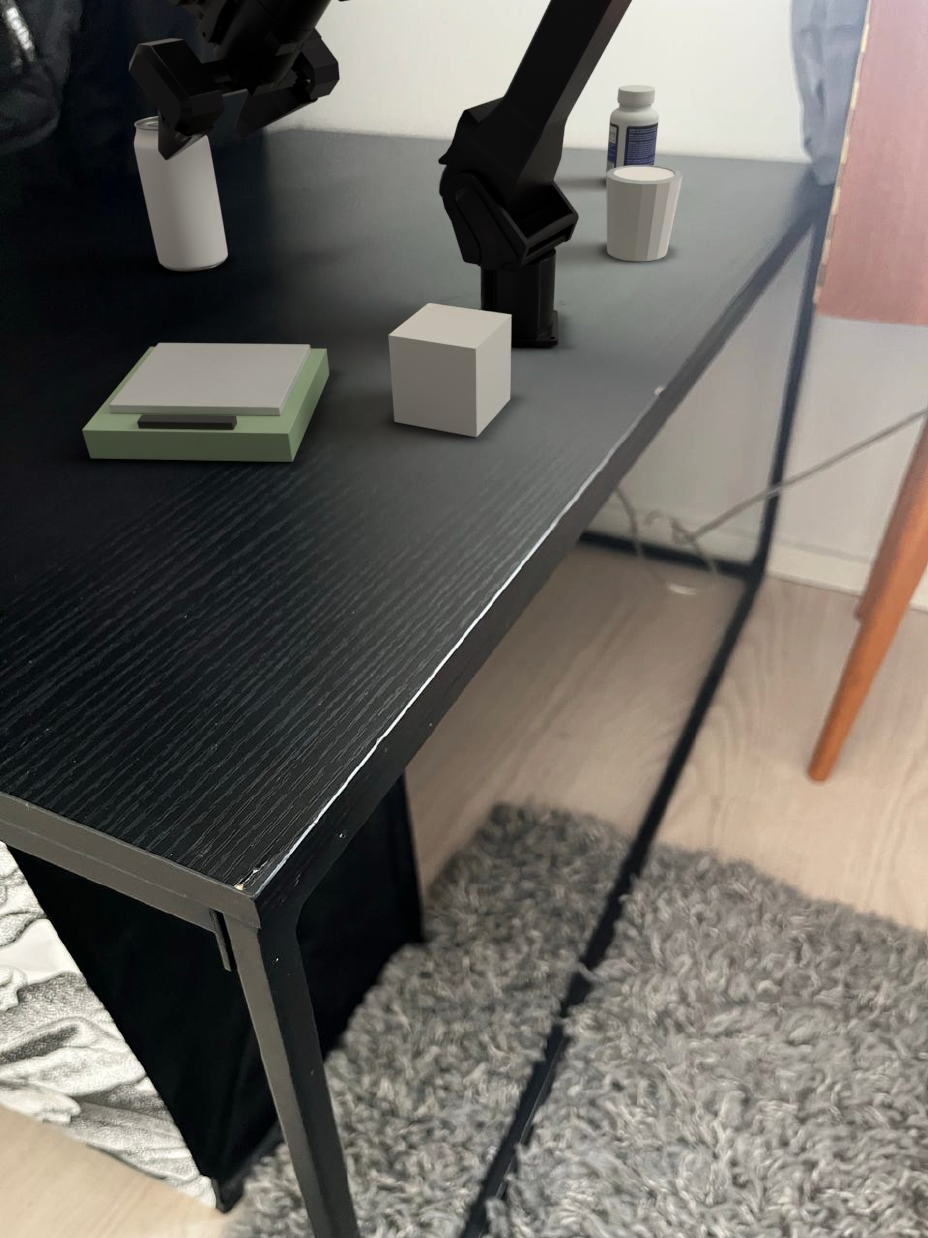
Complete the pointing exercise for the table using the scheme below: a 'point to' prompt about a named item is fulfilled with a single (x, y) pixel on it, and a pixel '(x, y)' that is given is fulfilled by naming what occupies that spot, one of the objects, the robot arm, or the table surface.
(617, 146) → the pill bottle
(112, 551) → the table surface
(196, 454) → the scale
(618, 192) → the white cup
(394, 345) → the white cube
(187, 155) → the can
